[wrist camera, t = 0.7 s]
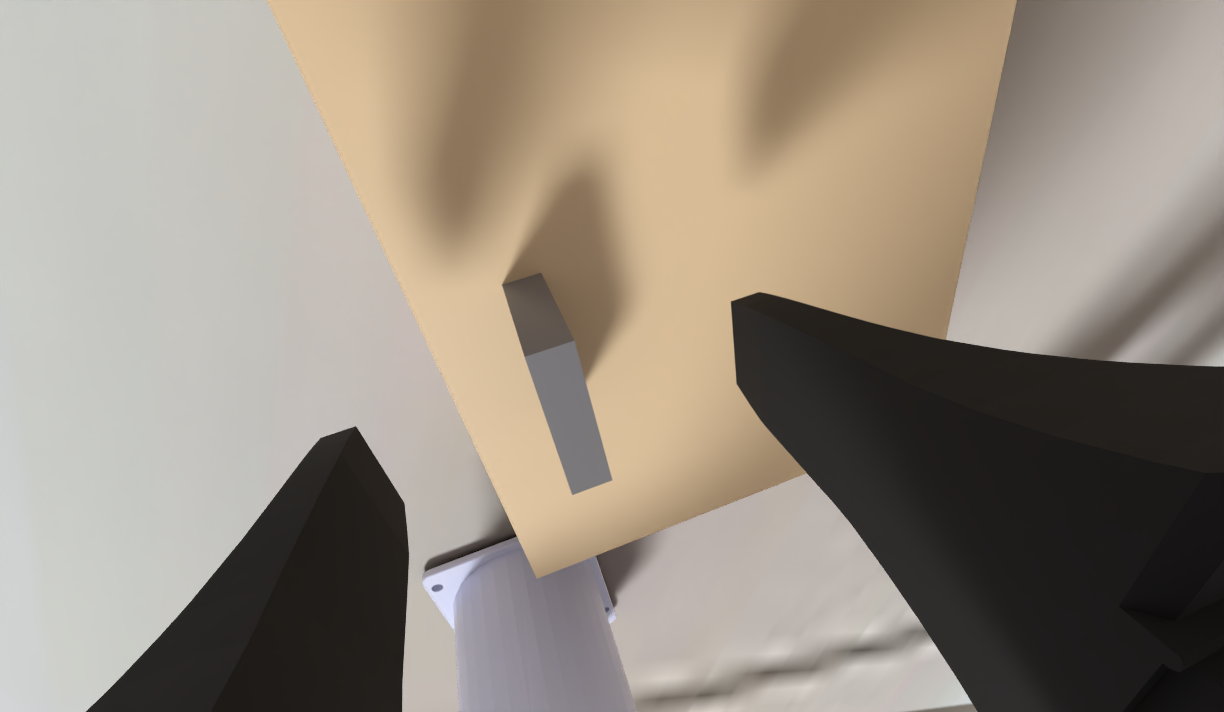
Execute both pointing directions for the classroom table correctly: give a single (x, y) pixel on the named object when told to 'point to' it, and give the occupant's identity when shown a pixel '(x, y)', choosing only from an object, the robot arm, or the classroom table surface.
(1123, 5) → the classroom table surface
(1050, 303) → the classroom table surface
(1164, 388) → the robot arm
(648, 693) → the classroom table surface
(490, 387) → the lid
